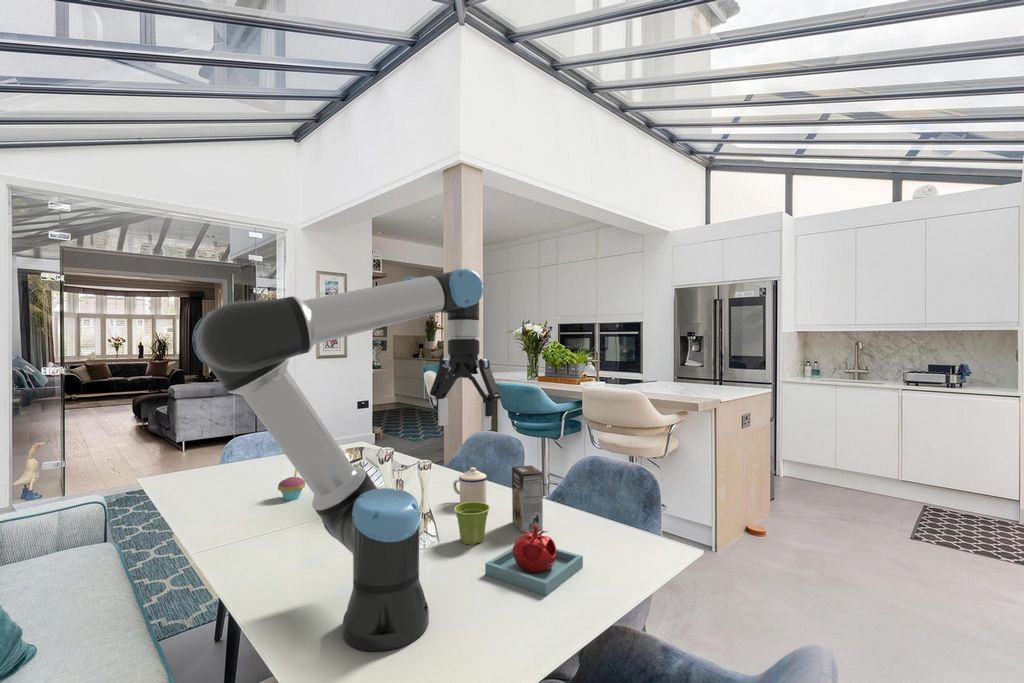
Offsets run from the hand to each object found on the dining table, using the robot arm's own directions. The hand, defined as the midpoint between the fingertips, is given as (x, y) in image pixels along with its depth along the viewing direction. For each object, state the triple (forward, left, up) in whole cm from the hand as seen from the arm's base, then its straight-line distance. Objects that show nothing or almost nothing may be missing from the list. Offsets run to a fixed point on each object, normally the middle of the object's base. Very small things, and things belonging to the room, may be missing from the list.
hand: (463, 427), depth 114 cm
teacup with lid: (+34, +28, -32) cm, 54 cm away
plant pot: (+11, +7, -32) cm, 35 cm away
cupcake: (+3, +81, -32) cm, 87 cm away
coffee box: (+28, +1, -32) cm, 42 cm away
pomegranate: (+6, -16, -31) cm, 35 cm away
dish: (+6, -16, -32) cm, 36 cm away
